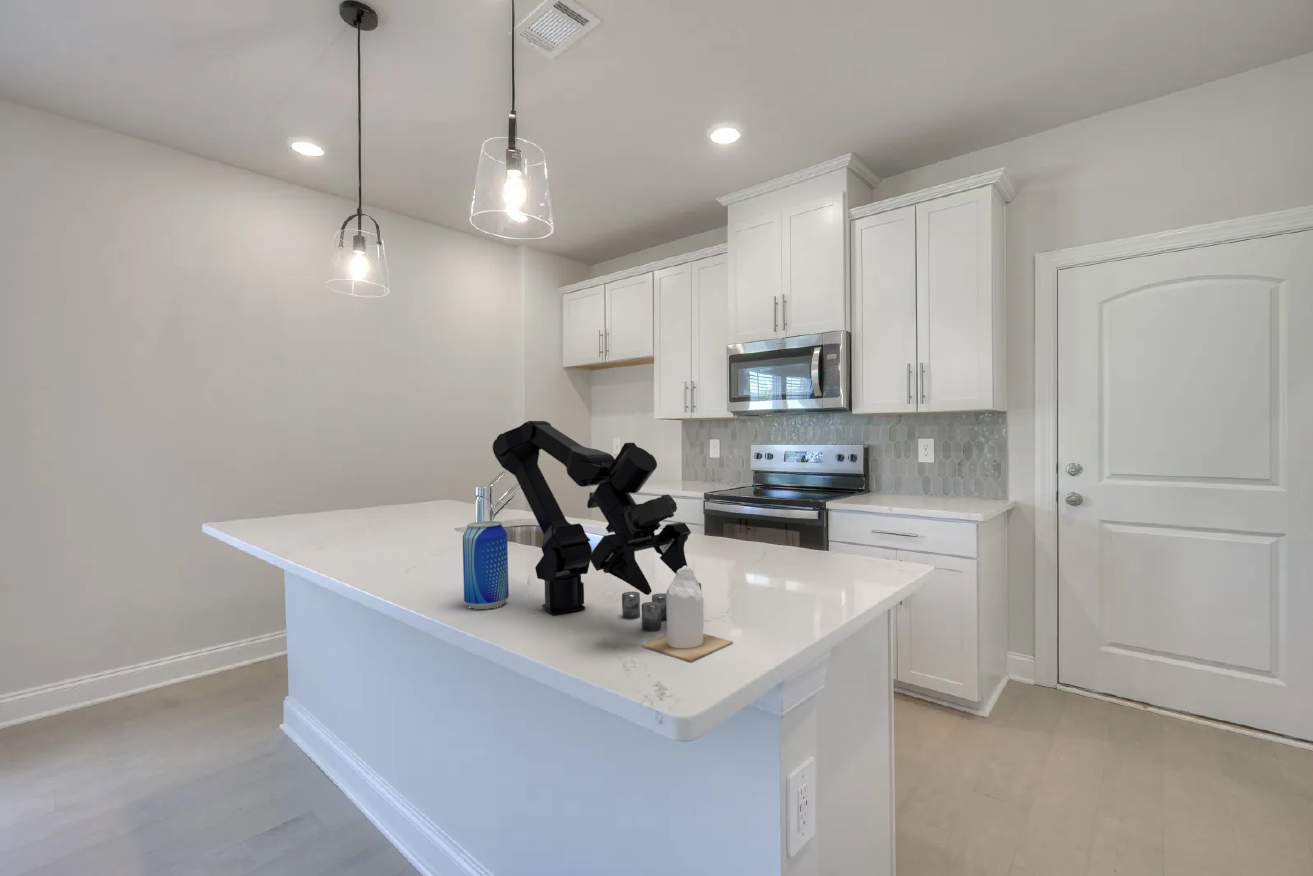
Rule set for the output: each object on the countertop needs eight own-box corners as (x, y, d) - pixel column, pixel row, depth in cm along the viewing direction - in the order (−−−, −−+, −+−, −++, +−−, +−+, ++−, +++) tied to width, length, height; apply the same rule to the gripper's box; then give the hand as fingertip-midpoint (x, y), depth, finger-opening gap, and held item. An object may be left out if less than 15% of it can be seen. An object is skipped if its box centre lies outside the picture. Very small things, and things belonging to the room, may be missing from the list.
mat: (641, 646, 91) (641, 644, 91) (683, 630, 98) (683, 628, 98) (691, 662, 84) (691, 660, 84) (732, 643, 91) (732, 641, 91)
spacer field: (655, 637, 95) (655, 612, 95) (619, 615, 107) (619, 593, 107) (739, 621, 102) (738, 598, 102) (696, 602, 115) (695, 581, 115)
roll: (684, 559, 96) (710, 564, 92) (685, 633, 96) (712, 641, 91) (657, 565, 91) (684, 570, 87) (659, 643, 91) (685, 652, 87)
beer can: (485, 613, 111) (482, 527, 111) (454, 607, 115) (452, 525, 115) (517, 602, 118) (515, 521, 118) (488, 597, 122) (486, 519, 122)
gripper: (601, 483, 90) (655, 567, 83) (682, 475, 104) (734, 547, 96) (569, 529, 96) (617, 611, 88) (650, 516, 109) (697, 586, 102)
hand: (669, 587), depth 94 cm, fingers open, 9 cm apart
